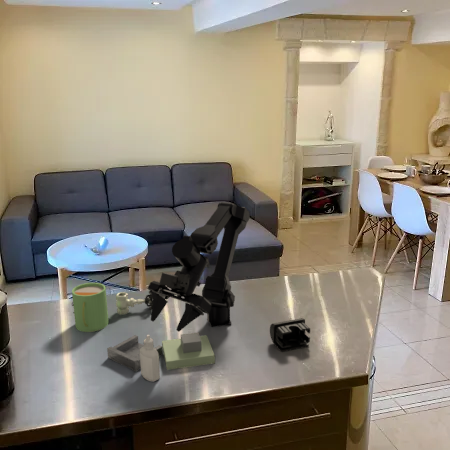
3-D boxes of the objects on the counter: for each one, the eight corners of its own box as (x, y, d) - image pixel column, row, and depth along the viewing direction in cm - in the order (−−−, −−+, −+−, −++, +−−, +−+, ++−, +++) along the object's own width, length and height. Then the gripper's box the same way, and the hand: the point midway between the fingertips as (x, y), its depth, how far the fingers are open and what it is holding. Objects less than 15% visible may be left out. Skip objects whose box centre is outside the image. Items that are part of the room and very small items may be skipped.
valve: (117, 317, 159) (154, 313, 162) (115, 299, 157) (153, 295, 160) (116, 308, 165) (152, 304, 168) (114, 290, 163) (151, 287, 166)
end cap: (299, 334, 147) (300, 314, 145) (310, 346, 141) (311, 325, 139) (269, 340, 144) (269, 320, 142) (279, 352, 138) (280, 331, 136)
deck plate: (206, 342, 143) (206, 326, 141) (214, 363, 133) (214, 345, 131) (162, 348, 140) (161, 331, 138) (166, 369, 130) (166, 351, 128)
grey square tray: (135, 342, 143) (134, 333, 143) (162, 354, 137) (162, 344, 136) (108, 358, 136) (107, 348, 135) (135, 371, 129) (134, 361, 128)
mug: (80, 316, 160) (76, 282, 156) (112, 316, 159) (109, 282, 156) (67, 335, 147) (63, 299, 144) (101, 336, 147) (98, 299, 144)
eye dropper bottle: (143, 384, 124) (141, 342, 120) (140, 372, 129) (137, 331, 125) (160, 381, 125) (158, 339, 122) (157, 369, 130) (154, 328, 127)
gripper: (150, 253, 133) (122, 304, 127) (203, 267, 122) (175, 324, 117) (171, 271, 141) (145, 320, 136) (222, 286, 130) (197, 340, 125)
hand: (164, 325), depth 128 cm, fingers open, 9 cm apart
